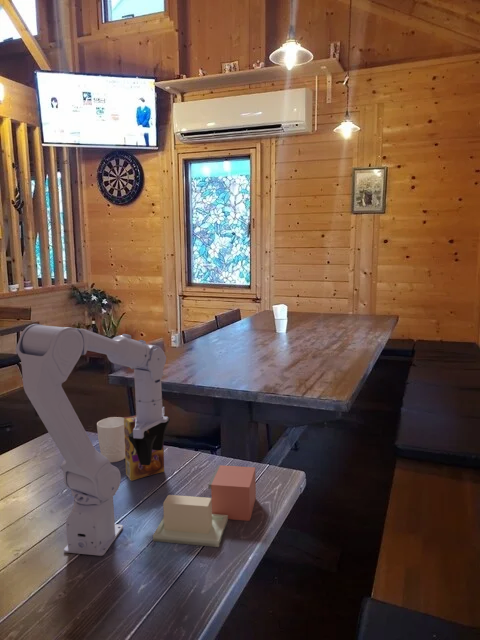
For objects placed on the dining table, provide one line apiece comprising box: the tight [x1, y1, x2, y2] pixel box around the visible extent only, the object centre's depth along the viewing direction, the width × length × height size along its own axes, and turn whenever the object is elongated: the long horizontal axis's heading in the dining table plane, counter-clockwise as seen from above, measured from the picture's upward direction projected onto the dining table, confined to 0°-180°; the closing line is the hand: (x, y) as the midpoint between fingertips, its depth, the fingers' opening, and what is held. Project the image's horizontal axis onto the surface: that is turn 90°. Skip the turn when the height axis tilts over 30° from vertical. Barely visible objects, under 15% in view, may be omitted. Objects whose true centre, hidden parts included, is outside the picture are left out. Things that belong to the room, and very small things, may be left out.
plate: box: [152, 514, 229, 548], centre depth 97 cm, size 9×13×1 cm
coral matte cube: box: [207, 464, 257, 522], centre depth 104 cm, size 9×9×7 cm
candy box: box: [123, 414, 165, 482], centre depth 120 cm, size 9×4×15 cm, turn 123°
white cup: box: [96, 416, 125, 463], centre depth 130 cm, size 8×8×10 cm
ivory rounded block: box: [162, 494, 212, 534], centre depth 96 cm, size 3×9×6 cm, turn 80°
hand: (151, 456), depth 108 cm, fingers open, 7 cm apart
